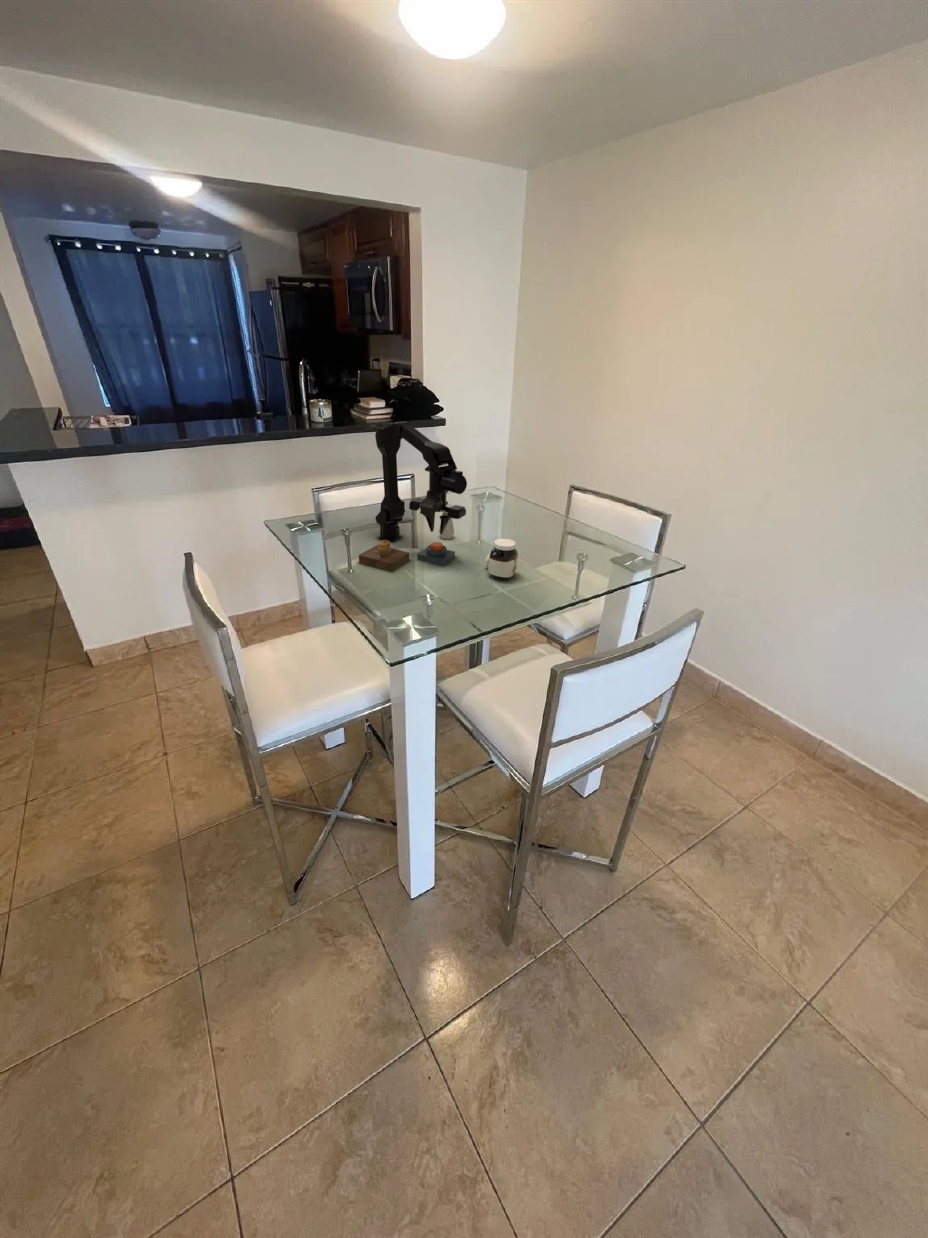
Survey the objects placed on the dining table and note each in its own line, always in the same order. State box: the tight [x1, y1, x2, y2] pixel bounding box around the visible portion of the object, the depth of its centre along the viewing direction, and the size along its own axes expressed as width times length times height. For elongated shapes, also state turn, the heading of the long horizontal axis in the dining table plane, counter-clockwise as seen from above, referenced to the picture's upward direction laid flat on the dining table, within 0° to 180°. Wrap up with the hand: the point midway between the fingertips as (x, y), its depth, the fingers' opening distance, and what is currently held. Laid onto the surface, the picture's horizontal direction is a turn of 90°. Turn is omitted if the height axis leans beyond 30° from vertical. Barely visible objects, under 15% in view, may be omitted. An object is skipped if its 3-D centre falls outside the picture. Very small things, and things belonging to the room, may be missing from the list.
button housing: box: [417, 544, 456, 567], centre depth 177 cm, size 10×9×4 cm
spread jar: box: [484, 538, 519, 581], centre depth 167 cm, size 12×11×12 cm
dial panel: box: [358, 544, 410, 572], centre depth 172 cm, size 13×11×3 cm
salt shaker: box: [438, 503, 455, 541], centre depth 193 cm, size 6×6×13 cm
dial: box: [377, 539, 391, 556], centre depth 171 cm, size 4×4×4 cm
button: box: [430, 541, 444, 550], centre depth 176 cm, size 4×4×2 cm
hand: (436, 532), depth 173 cm, fingers open, 3 cm apart
